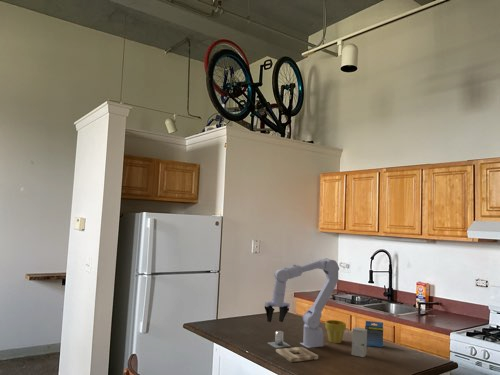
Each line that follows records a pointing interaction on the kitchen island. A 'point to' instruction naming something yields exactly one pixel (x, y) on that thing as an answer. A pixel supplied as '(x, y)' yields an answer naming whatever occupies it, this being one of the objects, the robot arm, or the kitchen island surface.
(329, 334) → the plant pot
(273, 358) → the kitchen island surface
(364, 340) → the skincare box
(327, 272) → the robot arm
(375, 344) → the label tape box
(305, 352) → the hole plate
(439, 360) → the kitchen island surface
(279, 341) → the steel peg
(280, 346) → the pad
